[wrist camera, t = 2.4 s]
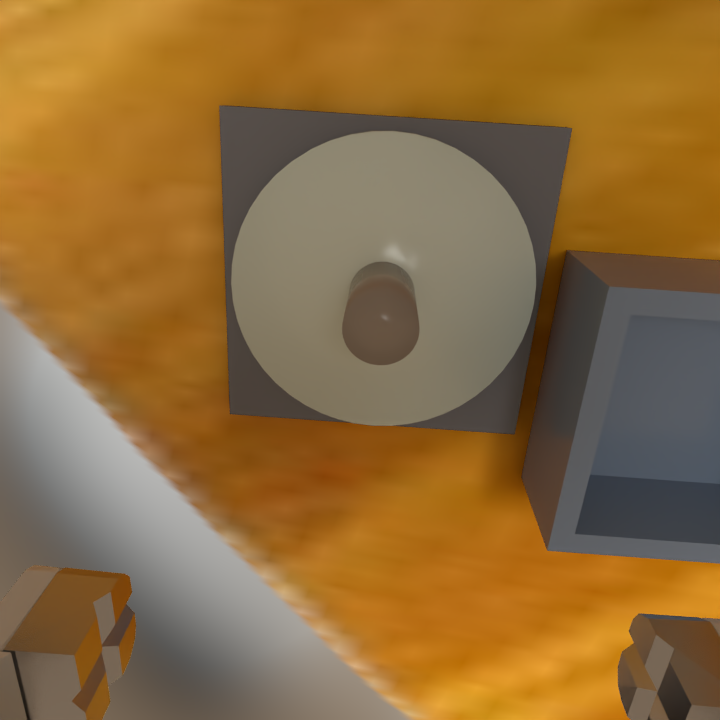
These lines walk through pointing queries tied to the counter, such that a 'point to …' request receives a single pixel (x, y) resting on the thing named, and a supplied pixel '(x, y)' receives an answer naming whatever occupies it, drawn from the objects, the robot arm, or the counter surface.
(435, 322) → the lid
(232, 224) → the mat
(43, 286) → the counter surface
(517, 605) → the counter surface
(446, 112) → the counter surface
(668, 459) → the grey storage tray
